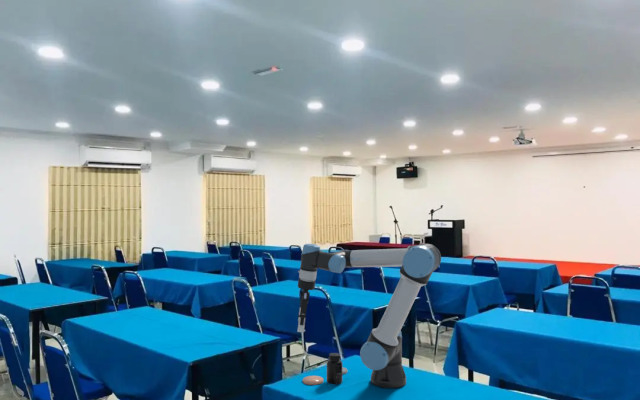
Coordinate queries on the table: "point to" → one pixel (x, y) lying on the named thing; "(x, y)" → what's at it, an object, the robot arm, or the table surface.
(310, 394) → the table surface
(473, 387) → the table surface
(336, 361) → the supplement bottle
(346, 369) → the slate coaster
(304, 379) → the terracotta coaster
